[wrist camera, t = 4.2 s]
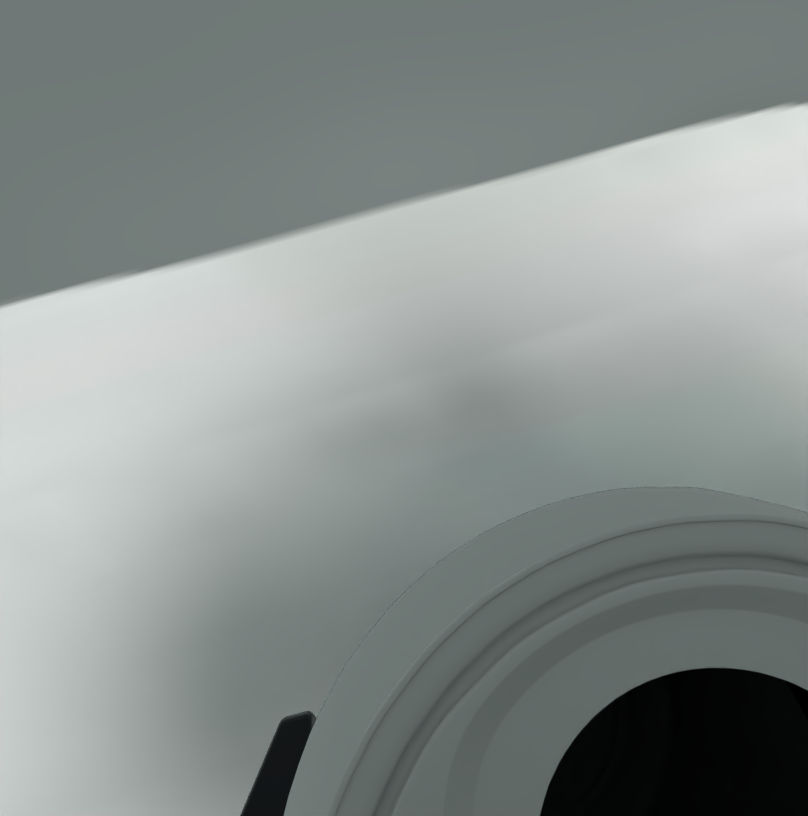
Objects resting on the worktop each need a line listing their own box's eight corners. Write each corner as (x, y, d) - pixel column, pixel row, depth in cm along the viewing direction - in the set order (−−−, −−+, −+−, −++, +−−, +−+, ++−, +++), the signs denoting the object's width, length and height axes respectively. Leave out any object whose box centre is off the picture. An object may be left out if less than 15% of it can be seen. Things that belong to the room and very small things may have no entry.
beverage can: (599, 523, 16) (1031, 334, 5) (708, 816, 14) (1819, 1661, 3) (340, 602, 16) (117, 609, 4) (420, 911, 14) (401, 2279, 3)
